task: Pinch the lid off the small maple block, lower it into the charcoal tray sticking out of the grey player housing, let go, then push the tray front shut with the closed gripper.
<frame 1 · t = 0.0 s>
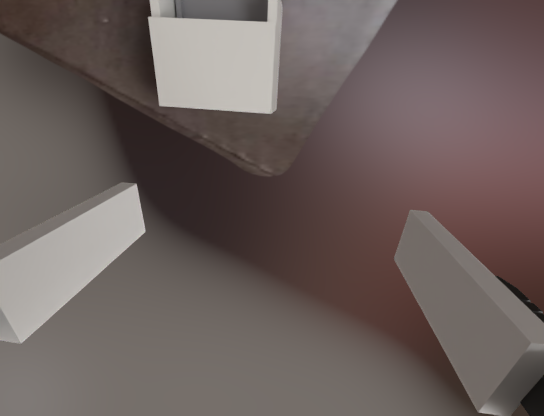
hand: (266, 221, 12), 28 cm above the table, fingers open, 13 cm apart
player: (228, 59, 34), on the table
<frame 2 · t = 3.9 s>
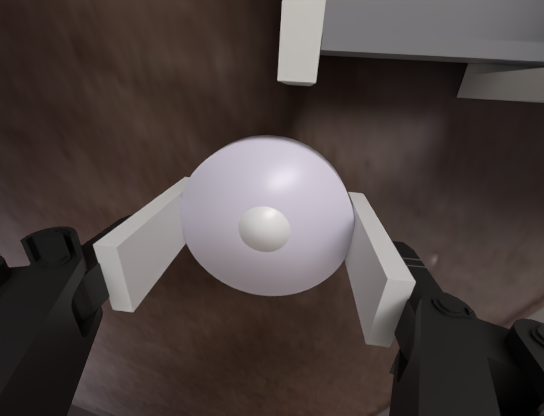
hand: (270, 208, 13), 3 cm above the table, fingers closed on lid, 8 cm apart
lid: (268, 214, 13), point 4 cm above the table, touching gripper, pedestal
when the fingers open (3 cm above the table, at t = 7.9 s): lid drops 2 cm, resting on tray.
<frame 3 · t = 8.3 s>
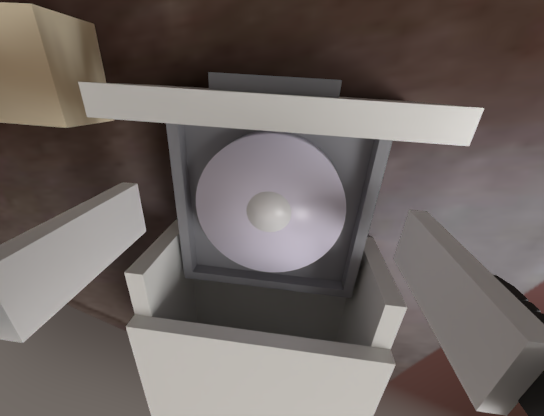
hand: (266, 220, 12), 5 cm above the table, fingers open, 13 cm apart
lid: (272, 200, 15), point 2 cm above the table, touching tray
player: (268, 290, 20), on the table
tray: (270, 206, 13), point 3 cm above the table, slide at 7.5 cm, touching lid
pedestal: (65, 73, 15), on the table
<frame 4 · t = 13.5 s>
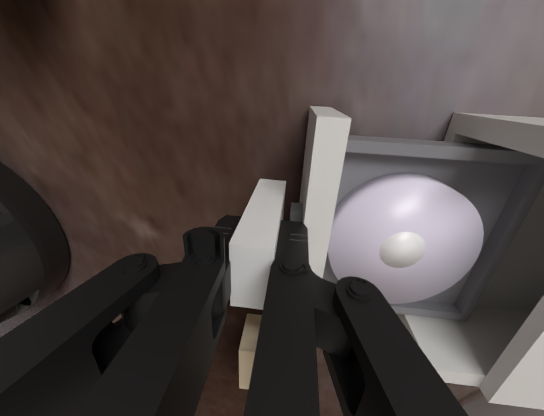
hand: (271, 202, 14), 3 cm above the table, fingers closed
lid: (392, 235, 15), point 2 cm above the table, touching tray
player: (508, 230, 16), on the table
tray: (396, 245, 14), point 3 cm above the table, slide at 6.7 cm, touching lid, gripper
pedestal: (273, 335, 23), on the table
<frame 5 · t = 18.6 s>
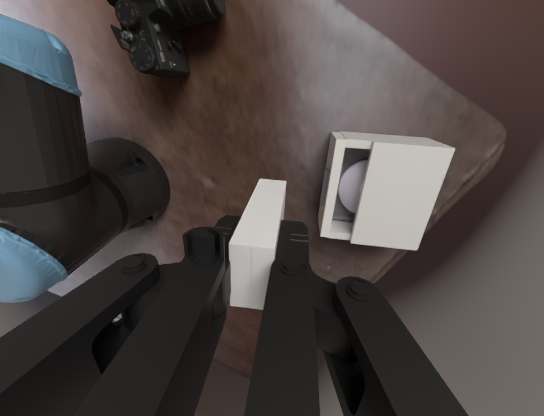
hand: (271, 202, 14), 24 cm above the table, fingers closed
lid: (365, 185, 36), point 2 cm above the table, touching tray
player: (371, 181, 38), on the table
tray: (365, 188, 35), point 3 cm above the table, slide at 0.0 cm, touching lid
camera: (188, 14, 32), on the table
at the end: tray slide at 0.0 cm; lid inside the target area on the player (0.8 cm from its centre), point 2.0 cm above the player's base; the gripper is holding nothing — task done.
